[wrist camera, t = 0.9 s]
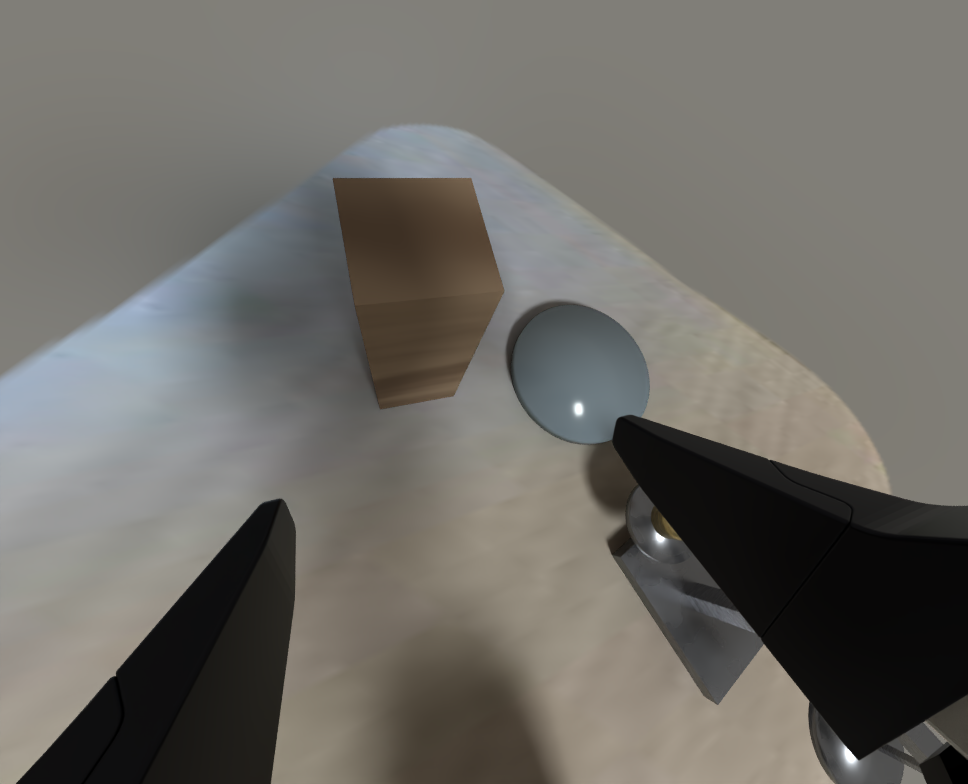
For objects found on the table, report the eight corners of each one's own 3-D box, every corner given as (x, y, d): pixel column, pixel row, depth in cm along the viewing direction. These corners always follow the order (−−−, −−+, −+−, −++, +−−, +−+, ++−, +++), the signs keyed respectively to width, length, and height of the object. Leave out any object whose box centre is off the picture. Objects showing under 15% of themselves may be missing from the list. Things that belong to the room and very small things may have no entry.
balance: (788, 675, 24) (1044, 791, 14) (738, 748, 21) (998, 939, 12) (640, 463, 26) (776, 442, 16) (583, 511, 24) (701, 517, 14)
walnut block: (453, 396, 24) (504, 291, 12) (380, 409, 23) (354, 306, 11) (438, 332, 25) (471, 178, 13) (367, 340, 24) (332, 178, 12)
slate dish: (666, 399, 28) (675, 395, 27) (566, 474, 24) (573, 473, 23) (588, 292, 30) (593, 285, 29) (483, 346, 26) (486, 340, 25)
